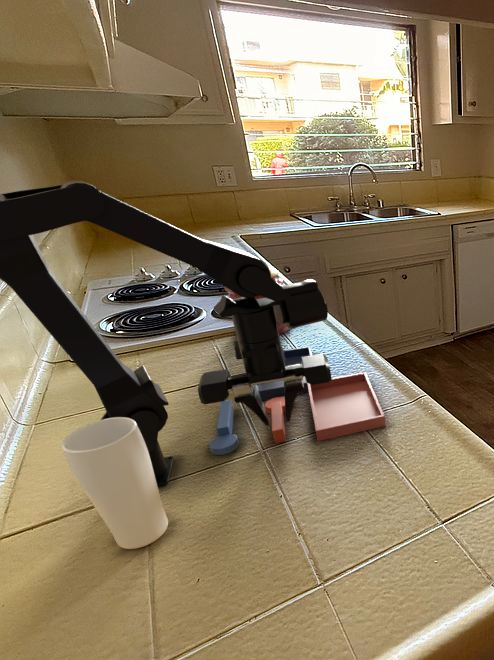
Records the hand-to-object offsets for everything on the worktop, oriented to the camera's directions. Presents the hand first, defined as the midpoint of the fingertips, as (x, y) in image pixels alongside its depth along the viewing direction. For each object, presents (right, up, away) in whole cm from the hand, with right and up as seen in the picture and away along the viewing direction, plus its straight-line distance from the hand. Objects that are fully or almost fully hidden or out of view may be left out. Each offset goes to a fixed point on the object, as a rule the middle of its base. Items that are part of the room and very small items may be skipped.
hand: (278, 422), depth 77 cm
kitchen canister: (-20, +18, +39) cm, 47 cm away
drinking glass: (-8, -11, -20) cm, 24 cm away
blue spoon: (-8, -2, -1) cm, 8 cm away
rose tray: (+9, +2, +6) cm, 11 cm away
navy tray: (-6, +7, +17) cm, 19 cm away
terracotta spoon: (-1, 0, +2) cm, 2 cm away
